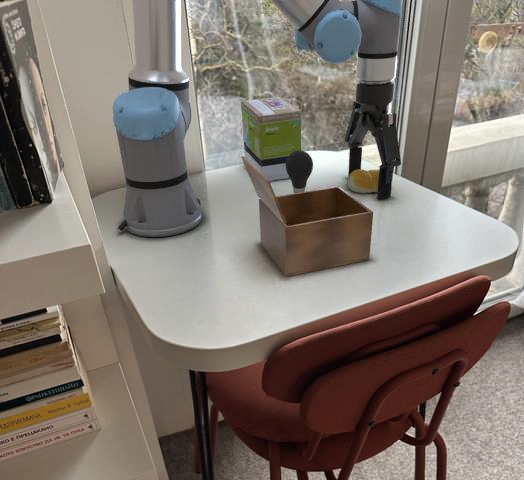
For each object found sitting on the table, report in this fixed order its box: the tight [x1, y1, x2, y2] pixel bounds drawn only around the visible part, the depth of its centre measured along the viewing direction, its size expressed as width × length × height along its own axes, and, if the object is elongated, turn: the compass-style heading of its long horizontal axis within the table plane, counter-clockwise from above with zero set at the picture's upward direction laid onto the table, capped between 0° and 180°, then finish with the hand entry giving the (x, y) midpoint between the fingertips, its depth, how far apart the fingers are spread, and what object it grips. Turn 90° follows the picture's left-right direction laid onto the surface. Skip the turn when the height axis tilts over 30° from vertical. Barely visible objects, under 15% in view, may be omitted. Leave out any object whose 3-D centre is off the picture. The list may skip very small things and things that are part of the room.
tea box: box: [240, 96, 302, 182], centre depth 127 cm, size 15×10×15 cm
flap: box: [241, 155, 286, 224], centre depth 86 cm, size 7×13×1 cm
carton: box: [258, 185, 374, 277], centre depth 94 cm, size 15×13×8 cm
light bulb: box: [286, 149, 314, 194], centre depth 113 cm, size 6×6×10 cm
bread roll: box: [346, 168, 379, 194], centre depth 119 cm, size 8×9×4 cm
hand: (368, 187), depth 120 cm, fingers open, 13 cm apart
